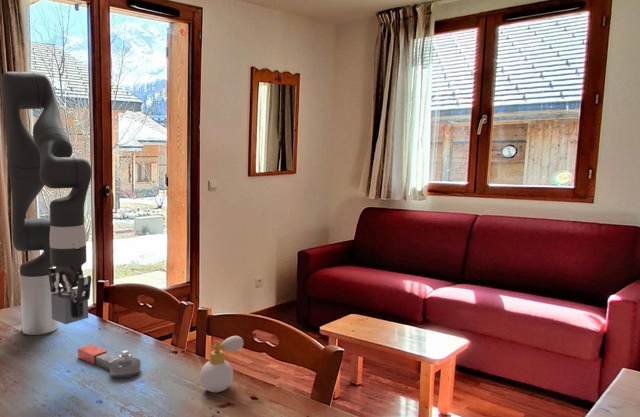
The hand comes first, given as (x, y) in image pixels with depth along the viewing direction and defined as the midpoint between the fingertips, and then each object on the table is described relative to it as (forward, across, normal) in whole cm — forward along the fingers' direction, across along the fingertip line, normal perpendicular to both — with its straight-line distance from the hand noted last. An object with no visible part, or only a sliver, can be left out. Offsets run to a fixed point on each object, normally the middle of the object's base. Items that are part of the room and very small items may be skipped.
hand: (70, 314), depth 120 cm
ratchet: (+16, +2, +9) cm, 18 cm away
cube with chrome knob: (+1, 0, 0) cm, 1 cm away
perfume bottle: (+15, +32, +16) cm, 39 cm away
